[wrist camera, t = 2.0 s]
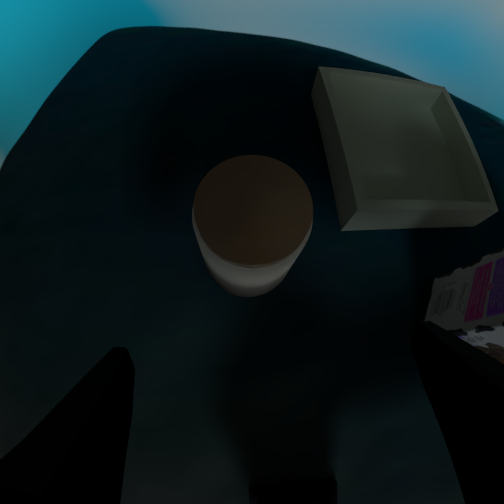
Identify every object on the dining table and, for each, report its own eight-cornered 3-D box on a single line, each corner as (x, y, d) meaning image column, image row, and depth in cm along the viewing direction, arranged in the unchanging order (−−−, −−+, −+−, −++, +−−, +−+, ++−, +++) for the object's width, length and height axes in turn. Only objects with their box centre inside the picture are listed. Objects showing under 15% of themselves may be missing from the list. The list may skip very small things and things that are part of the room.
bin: (474, 226, 26) (498, 210, 22) (340, 230, 25) (357, 210, 21) (430, 108, 30) (444, 87, 26) (310, 94, 29) (318, 66, 25)
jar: (294, 293, 23) (325, 262, 15) (206, 299, 23) (189, 270, 15) (285, 213, 25) (307, 151, 17) (203, 217, 25) (190, 155, 17)
